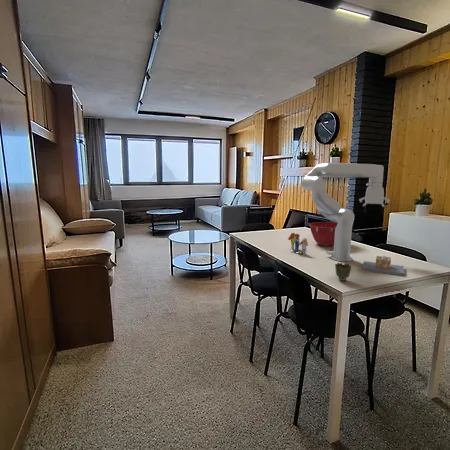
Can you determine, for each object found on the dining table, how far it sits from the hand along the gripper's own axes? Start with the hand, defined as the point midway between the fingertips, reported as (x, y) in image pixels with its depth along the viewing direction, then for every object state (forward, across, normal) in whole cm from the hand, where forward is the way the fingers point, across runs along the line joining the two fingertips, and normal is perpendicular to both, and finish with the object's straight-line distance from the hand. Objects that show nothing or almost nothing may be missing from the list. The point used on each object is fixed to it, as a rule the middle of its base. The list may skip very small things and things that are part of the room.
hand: (373, 212), depth 182 cm
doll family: (+29, -45, -11) cm, 54 cm away
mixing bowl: (+29, -30, +22) cm, 47 cm away
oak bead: (+27, +8, -26) cm, 38 cm away
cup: (+28, -9, -55) cm, 63 cm away
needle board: (+28, +8, -26) cm, 39 cm away
